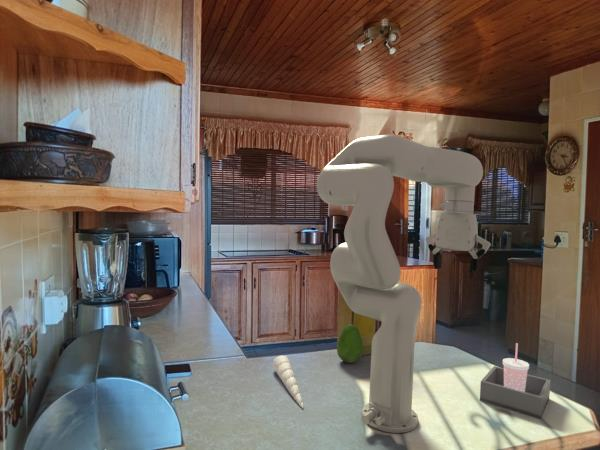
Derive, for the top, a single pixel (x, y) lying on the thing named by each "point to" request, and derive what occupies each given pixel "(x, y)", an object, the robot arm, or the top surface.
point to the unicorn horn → (287, 377)
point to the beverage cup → (515, 372)
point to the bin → (515, 393)
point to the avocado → (349, 344)
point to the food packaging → (361, 322)
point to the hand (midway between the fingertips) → (454, 270)
